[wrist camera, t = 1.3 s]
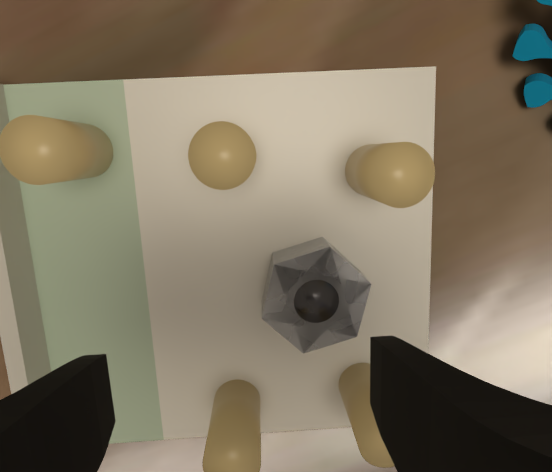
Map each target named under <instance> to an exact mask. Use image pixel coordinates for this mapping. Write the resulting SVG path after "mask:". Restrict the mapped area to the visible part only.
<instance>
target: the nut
mask: <svg viewBox="0 0 552 472" xmlns="http://www.w3.org/2000/svg"><path fill="white" fill-rule="evenodd" d="M370 288H371V283H370V282H369V281H368V280H367V278H366V277H365V276H364V275H363V274H362V273H361V271H360V270H359V269H358V268H356V267H355V266H354V265H353V264H352V263H351V262H350V261H349V260H348V259H347V258H346V257H344V256H343V255H342V254H341V253H340V252H339V251H338V250H337V249H336V248H335V247H333V246H332V245H331V244H330V243H329V242H328V241H327V240H326V239H325V238H324V237H320V238H317V239H313V240H310V241H307V242H304V243H301V244H298V245H295V246H291V247H288V248H285V249H282V250H279V251H276V252H273V253H272V257H271V261H270V266H269V270H268V275H267V279H266V284H265V288H264V293H263V297H262V319H263V320H264V321H265V322H266V323H267V324H269V325H270V326H271V327H272V328H273V329H275V330H276V331H277V332H278V333H279V334H281V335H282V336H283V337H284V338H285V339H287V340H288V341H289V342H290V343H291V344H292V345H294V346H295V347H296V348H297V349H298V350H300V351H301V352H302V353H303V354H304V353H307V352H310V351H314V350H317V349H320V348H323V347H326V346H330V345H333V344H336V343H339V342H342V341H346V340H349V339H352V338H355V337H357V335H358V332H359V328H360V324H361V321H362V317H363V313H364V310H365V306H366V302H367V299H368V295H369V291H370Z"/></svg>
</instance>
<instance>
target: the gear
mask: <svg viewBox="0 0 552 472" xmlns="http://www.w3.org/2000/svg"><path fill="white" fill-rule="evenodd" d="M537 1H538V2H539V3H541V4H545V5H550V6H552V0H537ZM513 57H514V58H515V59H517V60H520V61H528V60H532V59H537V58H551V59H552V41H551V40H550V39H549V38H548V36H547V34H546V32H545V30H544V29H543V28H542V27H541V26H540V25H538V24H526V25H525V26H524V27H523V29H522V30H521V32H520V34H519V36H518V38H517V41H516V45H515V48H514V52H513ZM524 98H525V101H526V104H527V107H539V106H542V105H544V104H545V103H547V102H548V101H550V100H552V77H550V76H548V75H546V74H543V73H536V74H532V75H530V76H528V77H527V78H526V81H525V86H524Z"/></svg>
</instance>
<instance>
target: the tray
mask: <svg viewBox="0 0 552 472" xmlns="http://www.w3.org/2000/svg"><path fill="white" fill-rule="evenodd" d="M435 84H436V67H413V68H389V69H365V70H341V71H318V72H294V73H270V74H246V75H222V76H198V77H175V78H151V79H127V80H103V81H79V82H56V83H32V84H8V85H2V84H0V336H1V342H2V347H3V352H4V357H5V363H6V368H7V373H8V379H9V384H10V389H11V394H13V393H15V392H17V391H18V390H20V389H22V388H24V387H25V386H27V385H29V384H31V383H32V382H34V381H36V380H38V379H39V378H41V377H43V376H45V375H46V374H48V373H50V372H52V371H53V370H55V369H57V368H59V367H60V366H62V365H64V364H66V363H68V362H70V361H72V360H74V359H76V358H78V357H81V356H83V355H97V354H106V356H107V363H108V371H109V378H110V385H111V392H112V399H113V406H114V413H115V421H116V422H115V425H114V428H113V431H112V435H111V438H110V441H109V444H111V443H126V442H140V441H155V440H170V439H184V438H199V437H207V441H206V446H205V451H204V457H203V470H204V472H259V471H260V466H261V433H273V432H287V431H302V430H317V429H332V428H346V427H352V429H353V432H354V435H355V438H356V441H357V444H358V447H359V450H360V453H361V455H362V457H363V458H364V459H365V460H366V461H367V462H368V463H370V464H372V465H374V466H377V467H383V468H387V467H393V466H395V465H394V463H393V461H392V459H391V457H390V455H389V453H388V451H387V449H386V446H385V444H384V442H383V440H382V438H381V436H380V433H379V430H378V427H377V424H376V421H375V418H374V414H373V411H372V408H371V405H370V337H376V336H395V337H397V338H400V339H402V340H404V341H406V342H408V343H409V344H411V345H413V346H415V347H417V348H419V349H421V350H422V351H424V352H426V353H428V344H429V307H430V270H431V232H432V195H433V183H434V179H435V167H434V163H433V158H434V121H435ZM320 237H324V238H325V239H326V240H327V241H328V242H329V243H330V244H331V245H332V246H333V247H335V248H336V249H337V250H338V251H339V252H340V253H341V254H342V255H343V256H344V257H346V258H347V259H348V260H349V261H350V262H351V263H352V264H353V265H354V266H355V267H356V268H358V269H359V270H360V271H361V273H362V274H363V275H364V276H365V277H366V278H367V280H368V281H369V282H370V283H371V288H370V291H369V295H368V299H367V302H366V306H365V310H364V313H363V317H362V321H361V324H360V328H359V332H358V335H357V337H355V338H352V339H349V340H346V341H342V342H339V343H336V344H333V345H330V346H326V347H323V348H320V349H317V350H314V351H310V352H307V353H304V354H303V353H302V352H301V351H300V350H298V349H297V348H296V347H295V346H294V345H292V344H291V343H290V342H289V341H288V340H287V339H285V338H284V337H283V336H282V335H281V334H279V333H278V332H277V331H276V330H275V329H273V328H272V327H271V326H270V325H269V324H267V323H266V322H265V321H264V320H263V319H262V297H263V293H264V288H265V284H266V279H267V275H268V270H269V266H270V261H271V257H272V253H273V252H276V251H279V250H282V249H285V248H288V247H291V246H295V245H298V244H301V243H304V242H307V241H310V240H313V239H317V238H320Z"/></svg>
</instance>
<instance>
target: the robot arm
mask: <svg viewBox="0 0 552 472" xmlns="http://www.w3.org/2000/svg"><path fill="white" fill-rule="evenodd" d="M370 405H371V408H372V411H373V414H374V418H375V421H376V424H377V427H378V430H379V433H380V436H381V438H382V440H383V442H384V444H385V446H386V449H387V451H388V453H389V455H390V457H391V459H392V461H393V463H394V465H395V467H396V469H397V472H552V405H549V404H545V403H542V402H539V401H536V400H533V399H530V398H526V397H524V396H521V395H518V394H515V393H513V392H510V391H507V390H505V389H502V388H499V387H497V386H494V385H492V384H490V383H487V382H485V381H482V380H480V379H478V378H476V377H474V376H472V375H469V374H467V373H465V372H463V371H461V370H459V369H457V368H455V367H453V366H451V365H449V364H447V363H445V362H443V361H441V360H439V359H437V358H435V357H433V356H432V355H430V354H428V353H426V352H424V351H422V350H421V349H419V348H417V347H415V346H413V345H411V344H409V343H408V342H406V341H404V340H402V339H400V338H397V337H395V336H376V337H370ZM115 422H116V421H115V413H114V406H113V399H112V392H111V385H110V378H109V371H108V363H107V356H106V354H97V355H83V356H81V357H78V358H76V359H74V360H72V361H70V362H68V363H66V364H64V365H62V366H60V367H59V368H57V369H55V370H53V371H52V372H50V373H48V374H46V375H45V376H43V377H41V378H39V379H38V380H36V381H34V382H32V383H31V384H29V385H27V386H25V387H24V388H22V389H20V390H18V391H17V392H15V393H13V394H11V395H9V396H7V397H5V398H4V399H2V400H0V472H97V471H98V469H99V467H100V465H101V462H102V460H103V458H104V456H105V453H106V450H107V447H108V444H109V441H110V438H111V435H112V431H113V428H114V425H115Z"/></svg>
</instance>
